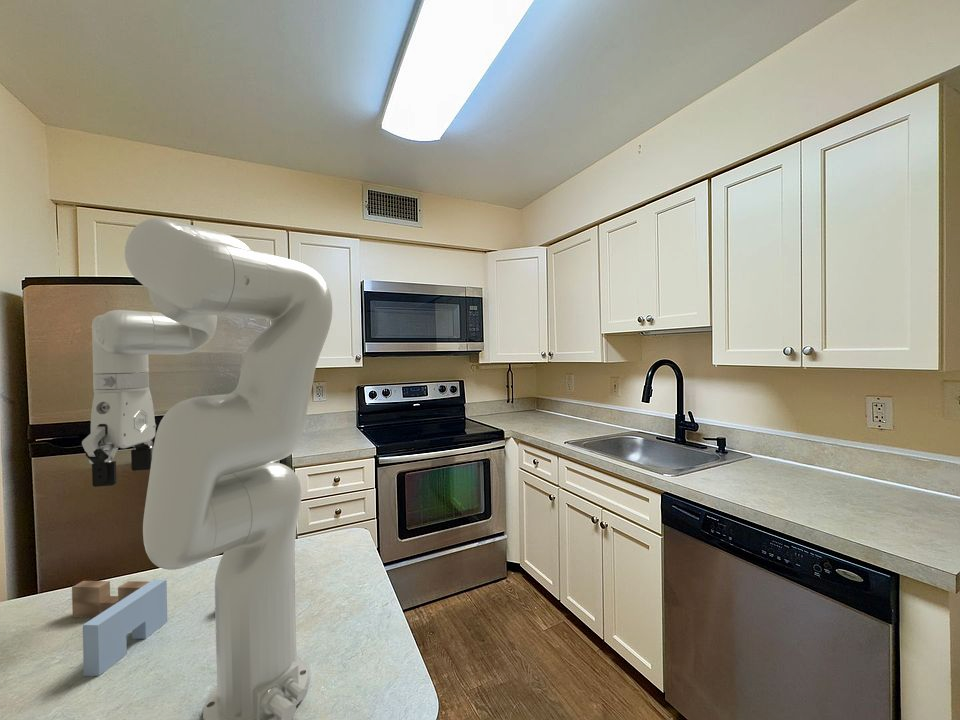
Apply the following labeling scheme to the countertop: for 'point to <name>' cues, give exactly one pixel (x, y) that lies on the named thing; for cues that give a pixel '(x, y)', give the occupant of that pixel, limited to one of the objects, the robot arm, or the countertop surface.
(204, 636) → the countertop surface
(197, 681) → the countertop surface
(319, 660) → the countertop surface
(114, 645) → the blue slot plate
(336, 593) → the countertop surface
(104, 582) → the walnut slot plate
